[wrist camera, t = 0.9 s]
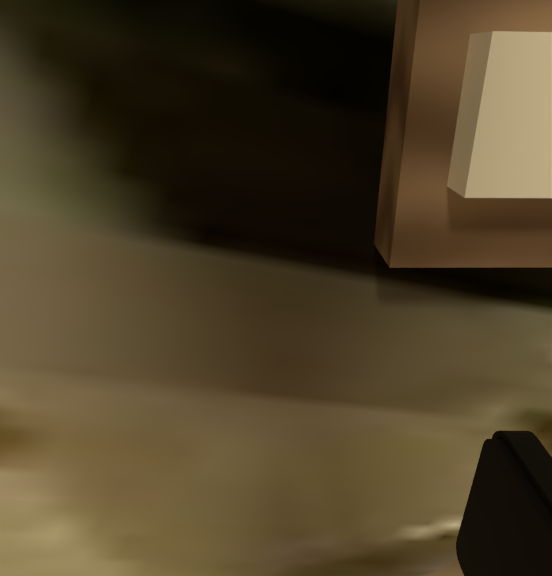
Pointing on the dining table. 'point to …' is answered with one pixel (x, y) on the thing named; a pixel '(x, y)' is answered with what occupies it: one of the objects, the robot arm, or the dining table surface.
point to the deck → (449, 146)
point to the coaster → (505, 118)
